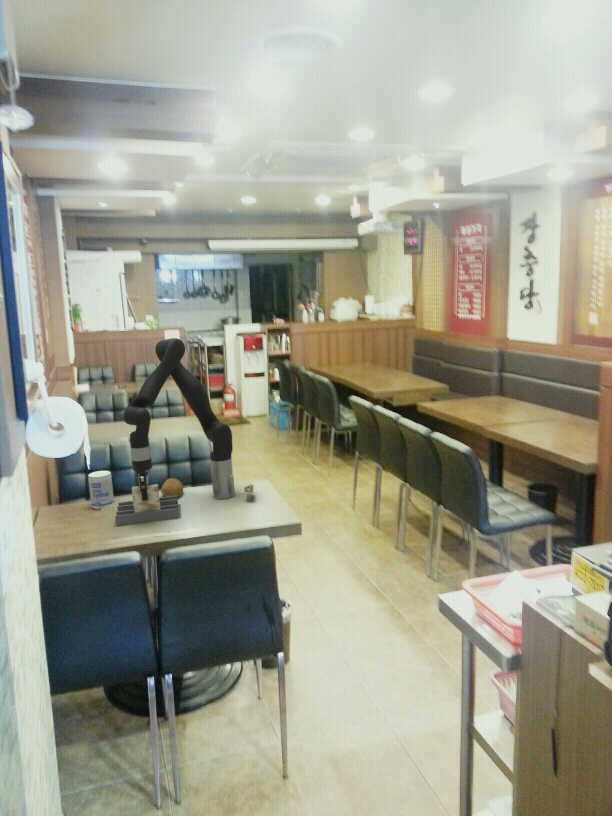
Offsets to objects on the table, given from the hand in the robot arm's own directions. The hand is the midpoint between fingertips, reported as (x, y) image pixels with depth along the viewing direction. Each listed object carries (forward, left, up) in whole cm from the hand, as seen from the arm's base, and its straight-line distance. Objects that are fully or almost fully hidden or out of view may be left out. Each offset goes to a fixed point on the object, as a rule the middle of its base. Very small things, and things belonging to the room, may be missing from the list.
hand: (145, 496), depth 247 cm
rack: (0, -5, -11) cm, 12 cm away
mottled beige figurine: (-42, -14, -12) cm, 46 cm away
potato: (-10, -27, -11) cm, 31 cm away
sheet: (0, 0, -10) cm, 10 cm away
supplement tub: (+20, -28, -11) cm, 36 cm away
